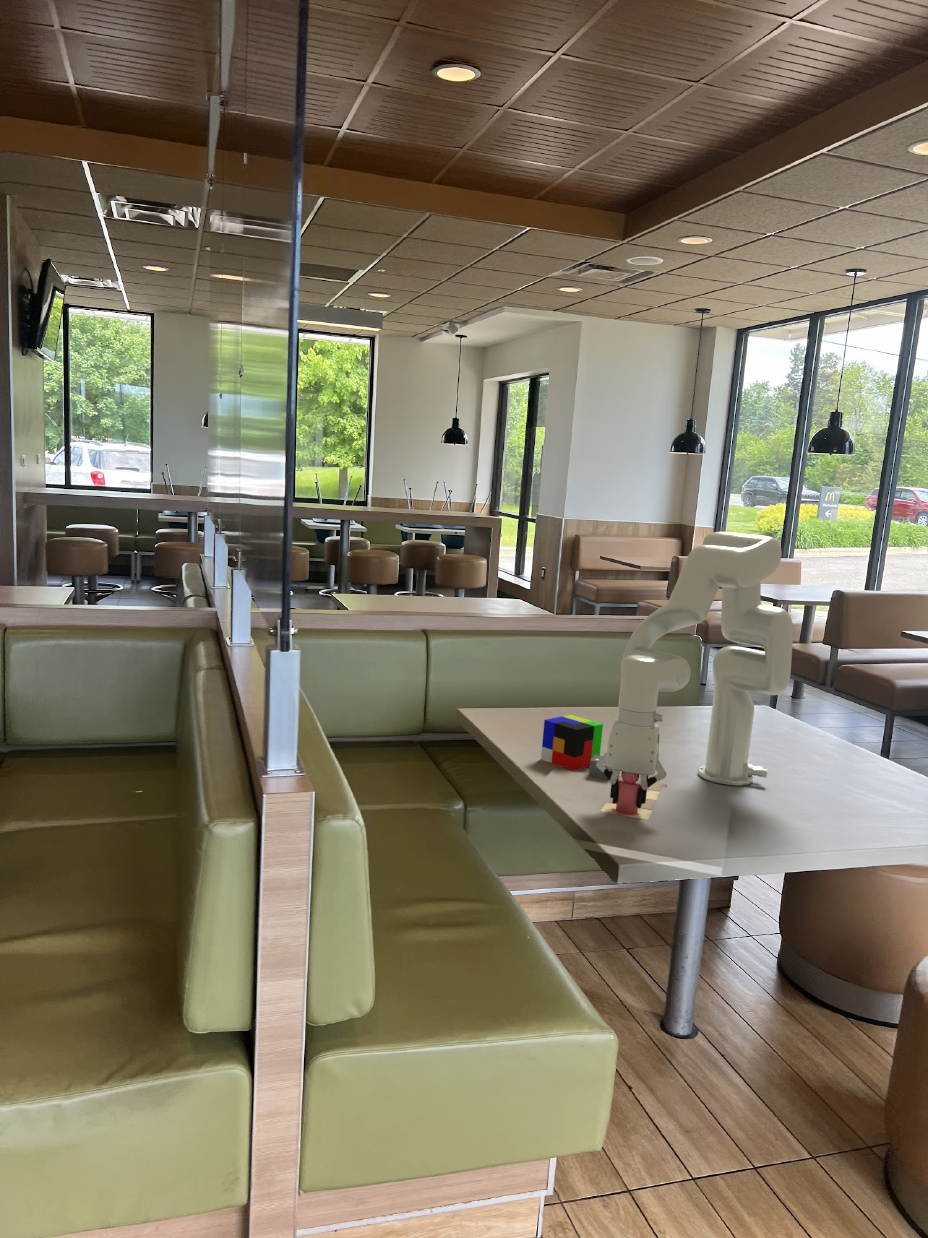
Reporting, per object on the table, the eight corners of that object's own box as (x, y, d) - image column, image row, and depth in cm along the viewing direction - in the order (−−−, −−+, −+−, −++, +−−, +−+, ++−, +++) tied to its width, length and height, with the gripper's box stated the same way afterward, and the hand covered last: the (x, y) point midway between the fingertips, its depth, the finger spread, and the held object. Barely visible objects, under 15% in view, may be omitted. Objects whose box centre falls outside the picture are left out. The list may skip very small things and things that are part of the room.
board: (666, 788, 207) (666, 783, 207) (650, 827, 182) (651, 822, 181) (617, 780, 210) (618, 774, 210) (596, 817, 185) (596, 811, 185)
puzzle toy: (540, 759, 222) (544, 719, 220) (566, 753, 229) (570, 714, 227) (573, 771, 215) (577, 729, 213) (598, 764, 222) (602, 724, 220)
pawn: (638, 809, 188) (643, 765, 187) (635, 816, 184) (640, 771, 182) (617, 805, 189) (622, 761, 188) (614, 812, 185) (618, 767, 184)
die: (613, 779, 211) (616, 757, 210) (610, 785, 206) (612, 763, 206) (592, 775, 213) (594, 754, 212) (588, 781, 208) (590, 760, 207)
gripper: (680, 719, 185) (671, 806, 187) (598, 707, 190) (590, 791, 192) (677, 727, 178) (667, 817, 180) (591, 714, 183) (582, 802, 185)
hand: (627, 803), depth 186 cm, fingers closed on pawn, 4 cm apart
